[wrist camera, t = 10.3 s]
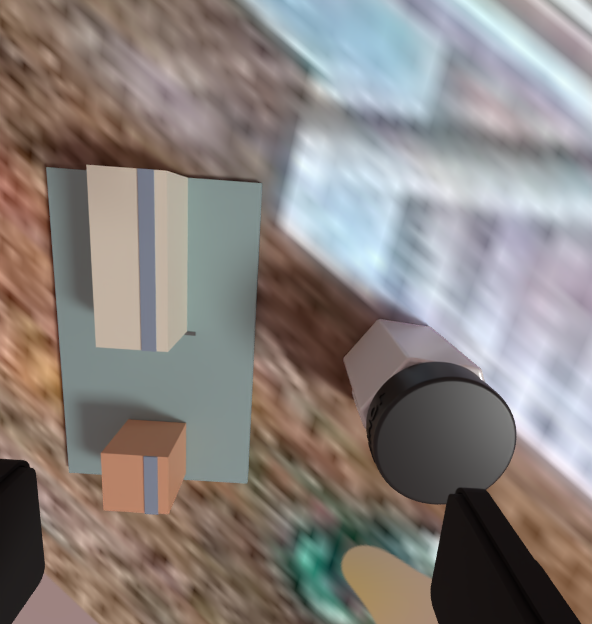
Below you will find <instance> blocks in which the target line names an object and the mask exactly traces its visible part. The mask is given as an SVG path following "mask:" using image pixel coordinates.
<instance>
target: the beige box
mask: <svg viewBox="0 0 592 624" xmlns="http://www.w3.org/2000/svg"><path fill="white" fill-rule="evenodd" d="M86 167H87V186H88V205H89V225H90V244H91V263H92V282H93V302H94V321H95V340H96V347H100V348H115V349H130V350H142V351H151V352H156V351H160V352H169V350H170V349H171V348H172V347H173V346H174V345H175V344H176V343H177V342H178V341H179V340H180V339H181V337H182V336H183V335H184V334H185V333H186V332H187V260H188V178H187V177H184V176H181V175H178V174H175V173H172V172H169V171H164V170H152V169H139V168H124V167H110V166H97V165H86Z"/></svg>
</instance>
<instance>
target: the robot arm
mask: <svg viewBox="0 0 592 624" xmlns="http://www.w3.org/2000/svg"><path fill="white" fill-rule="evenodd" d="M44 569H45V561H44V551H43V541H42V530H41V520H40V510H39V500H38V489H37V479H36V472H35V470H34V469H33V468H30V466H29V464H28V462H27V461H24V460H11V459H0V624H12V622H13V621H14V620H15V618H16V617H17V615H18V614H19V612H20V611H21V609H22V608H23V607H24V605H25V604H26V602H27V601H28V599H29V598H30V596H31V595H32V594H33V592H34V591H35V589H36V588H37V586H38V585H39V583H40V581H41V579H42V576H43V573H44ZM431 601H432V606H433V609H434V612H435V615H436V618H437V621H438V623H439V624H581V623H580V621H579V620H578V618H577V617H576V615H575V614H574V613H573V611H572V610H571V608H570V607H569V605H568V604H567V603H566V601H565V600H564V598H563V597H562V595H561V594H560V592H559V591H558V590H557V588H556V587H555V585H554V584H553V582H552V581H551V580H550V578H549V577H548V575H547V574H546V572H545V571H544V570H543V568H542V567H541V566H540V564H539V563H538V562H537V561H536V560H535V559H534V558H533V557H532V555H531V554H530V552H529V551H528V549H527V548H526V546H525V545H524V543H523V542H522V541H521V539H520V538H519V536H518V535H517V533H516V532H515V530H514V529H513V528H512V526H511V525H510V523H509V522H508V520H507V519H506V517H505V516H504V515H503V513H502V512H501V510H500V509H499V507H498V506H497V504H496V503H495V501H494V500H493V499H492V497H491V496H490V494H489V493H488V492H487V491H486V490H485V489H480V488H464V487H459V488H457V490H456V491H455V494H449V496H448V499H447V504H446V509H445V514H444V520H443V525H442V530H441V536H440V541H439V546H438V551H437V557H436V562H435V567H434V572H433V578H432V583H431Z"/></svg>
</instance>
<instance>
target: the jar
mask: <svg viewBox="0 0 592 624" xmlns="http://www.w3.org/2000/svg"><path fill="white" fill-rule="evenodd" d="M343 362H344V365H345V368H346V371H347V374H348V377H349V380H350V384H351V387H352V394H353V397H354V401H355V404H356V407H357V410H358V412H359V415H360V418H361V420H362V423H363V425H364V428H365V429H366V431H367V438H368V441H369V442H368V445H369V448H370V451H371V454H372V457H373V460H374V462H375V464H376V465H377V468H378V470H379V472H380V474H381V475H382V477H383V478H384V479H385V481H386V482H387V483H388V484H389V485H390V486H391V487H392V488H393V489H394V490H396V491H397V492H398V493H400V494H402V495H403V496H405V497H407V498H409V499H412V500H415V501H418V502H422V503H427V504H437V505H438V504H447V499H448V496H449V494H455V491H456V490H457V488H459V487H464V488H480V489H485V490H486V489H488V488H489V487H490V486H491V485H493V484H494V483H495V482H496V481H497V480H498V479H499V478H500V476H501V475H502V474H503V473H504V471H505V470H506V468H507V467H508V465H509V463H510V461H511V459H512V456H513V453H514V450H515V445H516V425H515V421H514V418H513V415H512V413H511V410H510V408H509V407H508V405H507V404H506V402H505V401H504V400H503V398H502V397H501V396H500V395H499V394H498V393H497V392H496V391H494V390H493V389H492V388H491V387H490V386H489V385H488V384H487V383H485V380H484V377H483V373H482V370H481V368H480V367H478V366H477V365H476V364H475V363H474V362H472V361H471V360H470V359H469V358H468V357H466V356H465V355H464V354H463V353H462V352H460V351H459V350H458V349H457V348H456V347H454V346H453V345H452V344H451V343H450V342H448V341H447V340H446V339H445V338H444V337H443V336H441V335H440V334H439V333H438V332H437V331H435V330H434V329H433V328H432V327H429V326H422V325H416V324H409V323H403V322H396V321H390V320H384V319H378V320H377V321H376V322H375V323H374V324H373V325H372V326H371V327H370V329H369V330H368V331H367V332H366V333H365V334H364V335H363V336H362V338H361V339H360V340H359V341H358V342H357V343H356V344H355V345H354V347H353V348H352V349H351V350H350V351H349V352H348V353H347V354H346V356H345V357H344V358H343Z"/></svg>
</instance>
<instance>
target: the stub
mask: <svg viewBox="0 0 592 624" xmlns="http://www.w3.org/2000/svg"><path fill="white" fill-rule="evenodd" d="M101 468H102V487H103V506H104V510H107V511H124V512H140V513H145V514H156V515H158V514H169V512H170V510H171V507H172V505H173V503H174V500H175V498H176V496H177V493H178V491H179V489H180V486H181V484H182V481H183V479H184V477H185V474H186V423H178V422H163V421H147V420H131V419H128V420H127V421H126V423H125V424H124V425H123V426H122V428H121V429H120V430H119V431H118V432H117V434H116V435H115V436H114V437H113V439H112V440H111V441H110V442H109V444H108V445H107V446H106V447H105V448H104V450H103V451H102V452H101Z"/></svg>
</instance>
